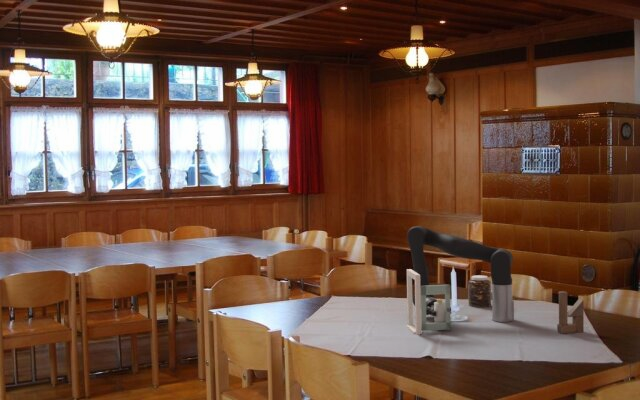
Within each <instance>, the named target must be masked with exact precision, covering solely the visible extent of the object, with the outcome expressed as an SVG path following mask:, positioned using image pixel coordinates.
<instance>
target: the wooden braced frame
mask: <svg viewBox="0 0 640 400" xmlns="http://www.w3.org/2000/svg"><path fill="white" fill-rule="evenodd" d="M584 307H585V305H584V299H581V298H578V299H577V300H576V302H575V303H574V304H573V305H572V306H571V308H570V309H569V310H568V292H567V291H566V290H565V291H563V290H562V291H560V290H559V291H558V324H557V325H556V327H557V328H556V329H557V333H559V334H561V335H565V334H576V333H578V334H579V333H584V327H585V325H584V321H585V319H584V316H585V315H584V314H585V312H584ZM568 318H571V319H572V320H571V321H572V323H569V322H568Z"/></svg>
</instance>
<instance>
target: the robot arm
mask: <svg viewBox="0 0 640 400" xmlns="http://www.w3.org/2000/svg"><path fill="white" fill-rule="evenodd" d="M406 238H407V243H408V246H409V249H410V254H411V259H412V266H413V267H412V268H413V269H412V270H413V271H415V272H416V273H418V274H419V275H420V289H421V286H428V285H430V275H429V269H428V265H427V261H426V257H425V251H424V246H430V247H434V248H435V249H439V250H440V251H442V252H444V253H447V254H449V255H452V256H454V257H458V258H461V259H465V260H466V259H467V260H474V261H475V260H476V261H482V262H483V261H484V262H487V263H490V277H491V308H492V315H491V317H492V321H494V322H500V323H506V322H512V321H513V322H514V321H515V301H514V299H513V278H512V273H511V272H512V271H511V270H512V269H511V267H512V266H511V265H513V262H514V256H513V254H512V253H511V252H510V251H509V250H507V249H504V248H498V247H493V246H488V245H484V244H481V243H479V242H475V241H474V240H469V239H467V238H463V237H460V236H457V235H456V236H455V235H450V234H446V233H440V232H439V231H435V230H432V229H429V228H427V227H424V226H421V225H415V226H412V227H410V228H409V230H408V231H407V234H406ZM437 300H438V299H436V298H435V295H426V316H431V317H434V316H436V311H434V302H437ZM412 304H413V306H414V307H415V294H414V295H412ZM450 315H452V307H451V305H450Z"/></svg>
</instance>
